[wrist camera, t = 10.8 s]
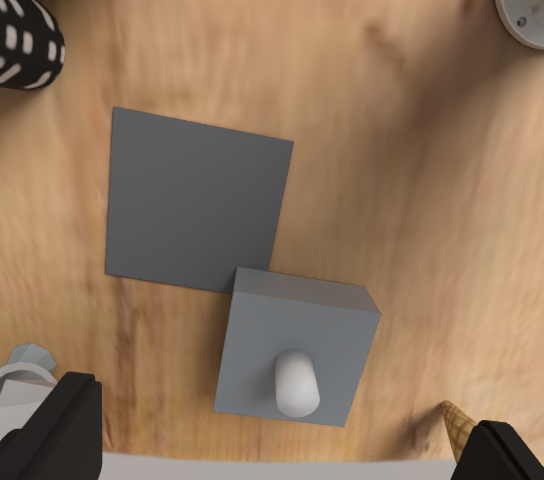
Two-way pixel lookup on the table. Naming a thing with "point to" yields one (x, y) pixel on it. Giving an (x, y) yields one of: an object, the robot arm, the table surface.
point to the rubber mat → (191, 200)
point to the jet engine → (24, 385)
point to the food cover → (294, 347)
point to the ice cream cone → (457, 427)
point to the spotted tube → (29, 45)
